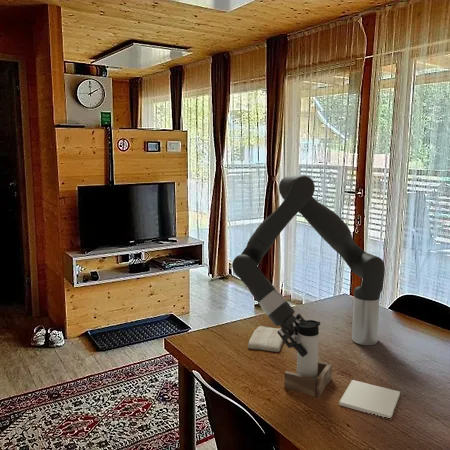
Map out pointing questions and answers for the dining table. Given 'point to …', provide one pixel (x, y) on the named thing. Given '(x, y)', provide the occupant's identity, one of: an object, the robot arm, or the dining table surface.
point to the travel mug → (308, 348)
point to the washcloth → (266, 339)
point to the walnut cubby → (309, 380)
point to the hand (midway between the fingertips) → (310, 349)
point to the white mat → (370, 399)
